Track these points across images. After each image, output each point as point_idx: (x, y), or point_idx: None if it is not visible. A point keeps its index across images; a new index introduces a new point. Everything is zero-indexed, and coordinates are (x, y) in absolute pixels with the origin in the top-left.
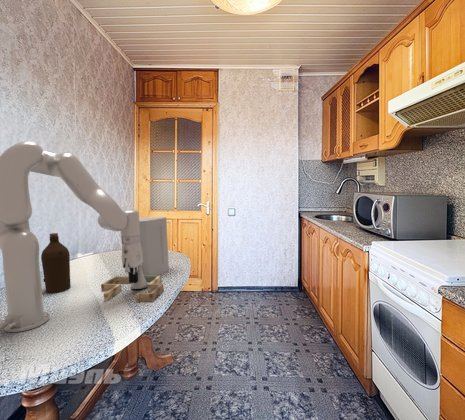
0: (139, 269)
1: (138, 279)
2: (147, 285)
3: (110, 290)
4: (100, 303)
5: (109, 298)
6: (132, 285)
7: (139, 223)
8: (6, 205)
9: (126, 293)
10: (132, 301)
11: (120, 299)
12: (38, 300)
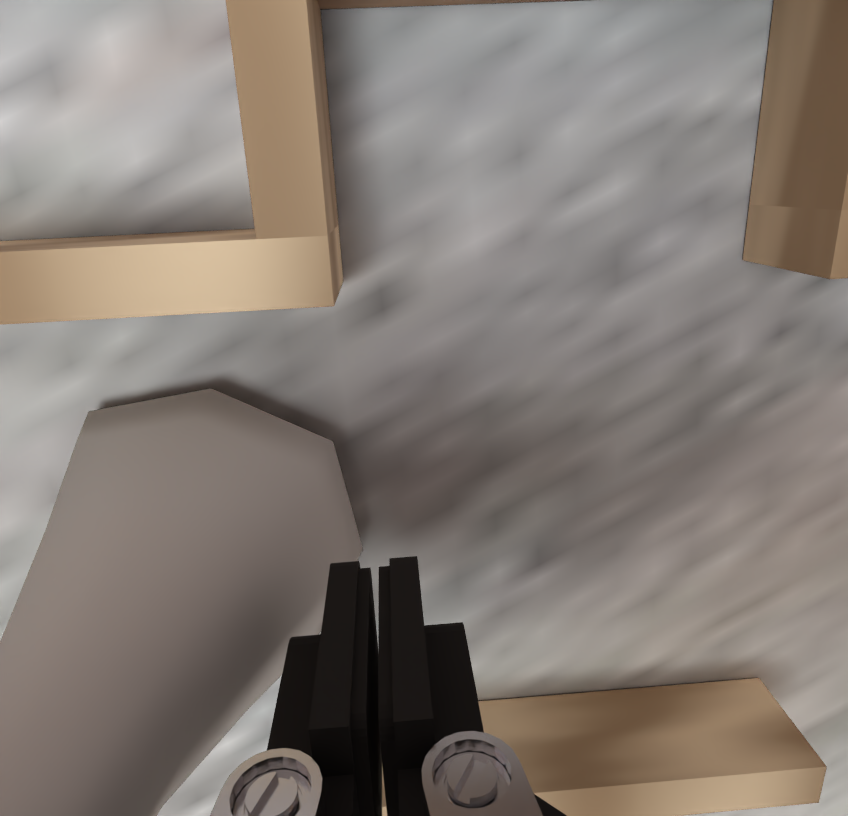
0: (58, 813)
1: (248, 599)
2: (121, 410)
3: (682, 792)
4: (816, 710)
5: (701, 693)
6: (314, 625)
7: None
8: None
9: (467, 591)
10: (789, 332)
11: (699, 550)
12: None
